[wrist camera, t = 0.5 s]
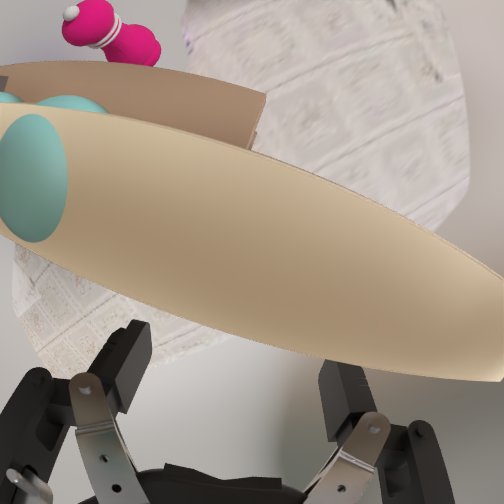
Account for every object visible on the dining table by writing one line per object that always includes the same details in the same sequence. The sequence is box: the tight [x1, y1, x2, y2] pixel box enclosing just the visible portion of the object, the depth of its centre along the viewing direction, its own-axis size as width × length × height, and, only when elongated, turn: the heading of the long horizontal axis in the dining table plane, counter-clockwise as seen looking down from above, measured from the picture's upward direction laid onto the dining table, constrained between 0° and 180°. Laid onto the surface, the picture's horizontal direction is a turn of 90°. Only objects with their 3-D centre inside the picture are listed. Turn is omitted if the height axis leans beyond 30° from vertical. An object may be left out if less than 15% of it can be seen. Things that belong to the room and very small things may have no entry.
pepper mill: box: [62, 0, 161, 67], centre depth 21 cm, size 7×7×20 cm
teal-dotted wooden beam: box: [0, 76, 504, 382], centre depth 5 cm, size 5×25×4 cm, turn 70°
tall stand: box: [0, 61, 266, 150], centre depth 21 cm, size 7×16×32 cm, turn 70°
